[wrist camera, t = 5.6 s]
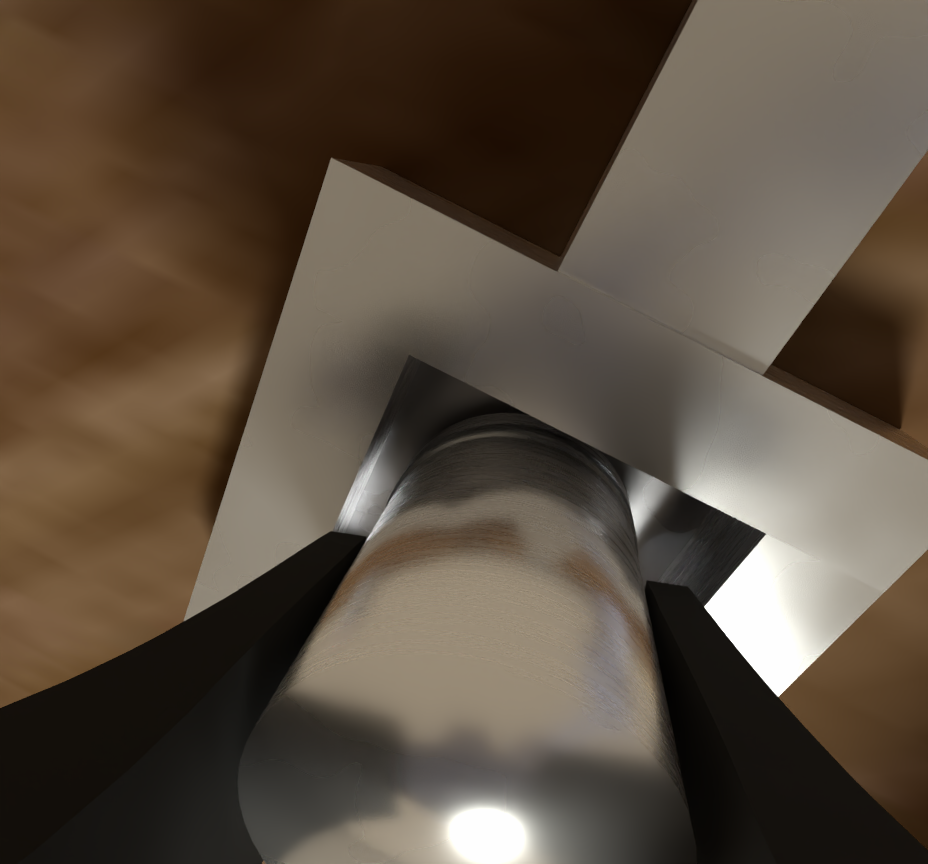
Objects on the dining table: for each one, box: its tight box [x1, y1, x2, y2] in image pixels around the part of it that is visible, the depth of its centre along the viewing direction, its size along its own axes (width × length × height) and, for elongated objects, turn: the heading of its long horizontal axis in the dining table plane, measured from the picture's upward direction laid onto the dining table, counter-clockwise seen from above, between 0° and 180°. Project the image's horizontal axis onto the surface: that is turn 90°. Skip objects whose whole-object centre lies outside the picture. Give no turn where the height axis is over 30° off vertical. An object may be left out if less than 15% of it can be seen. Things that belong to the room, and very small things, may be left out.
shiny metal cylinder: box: [238, 413, 697, 864], centre depth 8 cm, size 4×4×6 cm
